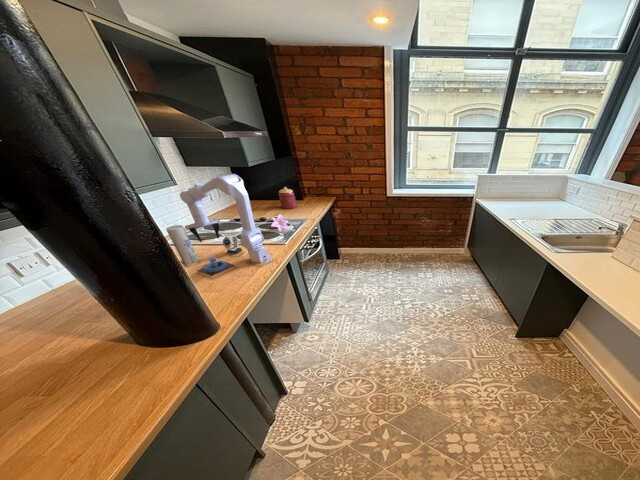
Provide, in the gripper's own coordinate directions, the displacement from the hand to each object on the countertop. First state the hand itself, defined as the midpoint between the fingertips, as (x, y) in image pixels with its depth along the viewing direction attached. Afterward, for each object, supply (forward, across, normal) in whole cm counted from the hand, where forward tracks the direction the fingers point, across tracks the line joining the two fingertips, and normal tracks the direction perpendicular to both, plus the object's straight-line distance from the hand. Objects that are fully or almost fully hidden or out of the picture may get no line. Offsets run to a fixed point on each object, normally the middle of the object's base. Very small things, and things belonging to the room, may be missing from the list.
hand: (209, 239), depth 132 cm
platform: (+10, +3, +18) cm, 21 cm away
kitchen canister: (+10, -69, -72) cm, 100 cm away
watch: (+10, -8, +4) cm, 14 cm away
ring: (+9, +3, +17) cm, 19 cm away
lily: (+10, -42, -19) cm, 48 cm away
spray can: (+10, +11, +1) cm, 15 cm away
